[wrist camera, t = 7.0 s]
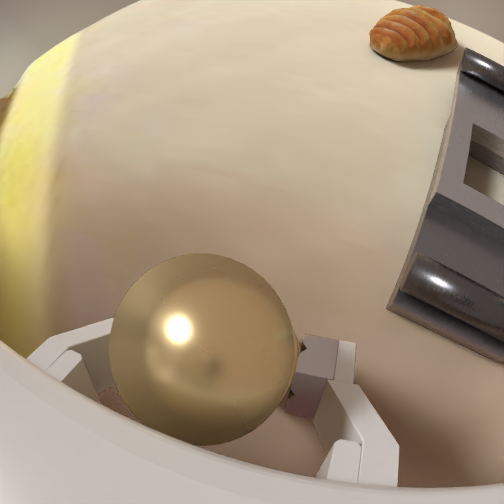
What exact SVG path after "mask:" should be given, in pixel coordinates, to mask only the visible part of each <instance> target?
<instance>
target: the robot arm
mask: <svg viewBox="0 0 504 504" xmlns="http://www.w3.org/2000/svg"><path fill="white" fill-rule="evenodd" d="M113 320H114V318H110V319H107V320H104V321H100V322H97V323H94V324H91V325H87V326H84V327H81V328H78V329H74V330H71V331H68V332H64V333H61V334H58V335H55V336H51V337H49V338H48V339H47V340H46V341H45V342H44V343H43V344H42V345H40V346H39V347H38V348H37V349H36V350H35V351H34V352H33V353H32V354H31V355H30V356H29V357H27V358H26V359H25V358H24V357H22V356H21V355H20V354H18V353H17V352H15V351H14V350H13V349H11V348H10V347H9V346H7V345H6V344H5V343H3V342H2V341H1V340H0V504H504V483H498V484H489V485H479V486H466V487H444V488H412V487H397V484H398V466H399V445H398V443H397V442H396V440H395V439H394V437H393V436H392V434H391V433H390V431H389V430H388V428H387V427H386V425H385V424H384V422H383V421H382V419H381V418H380V416H379V415H378V413H377V412H376V410H375V409H374V407H373V406H372V404H371V403H370V401H369V400H368V398H367V397H366V395H365V394H364V392H363V391H362V389H361V388H360V386H359V385H356V384H354V374H355V361H356V343H355V342H349V341H343V340H335V339H330V338H325V337H320V336H315V335H310V334H305V335H304V338H303V342H302V346H301V351H300V353H299V357H298V362H297V367H296V372H295V375H294V378H293V381H292V384H291V388H290V393H289V396H288V400H287V404H286V409H285V413H288V414H292V415H296V416H300V417H304V418H309V419H313V423H314V425H315V428H316V430H317V433H318V435H319V438H320V440H321V443H322V445H323V448H324V450H325V453H326V455H327V457H326V459H325V460H324V462H323V464H322V465H321V467H320V469H319V470H318V472H317V474H316V475H315V477H309V476H304V475H299V474H294V473H289V472H285V471H280V470H276V469H272V468H268V467H264V466H260V465H256V464H252V463H249V462H245V461H242V460H238V459H235V458H231V457H228V456H225V455H222V454H219V453H215V452H212V451H209V450H206V449H204V448H201V447H198V446H195V445H192V444H190V443H187V442H184V441H182V440H179V439H176V438H174V437H171V436H169V435H166V434H164V433H161V432H159V431H157V430H154V429H152V428H150V427H147V426H145V425H143V424H140V423H138V422H136V421H134V420H132V419H130V418H127V417H125V416H123V415H121V414H119V413H117V412H115V411H113V410H111V409H109V408H107V407H105V406H103V405H102V404H101V402H100V400H99V397H98V395H97V394H98V393H100V392H102V391H104V390H106V389H108V388H110V387H112V386H114V385H116V384H115V381H114V378H113V375H112V371H111V366H110V358H109V340H110V332H111V327H112V323H113Z"/></svg>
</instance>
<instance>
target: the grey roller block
mask: <svg viewBox="0 0 504 504" xmlns="http://www.w3.org/2000/svg"><path fill="white" fill-rule="evenodd" d="M468 155H470V156H472V157H474V158H475V159H477V160H479V161H481V162H483V163H485V164H486V165H488V166H490V167H492V168H494V169H495V170H497V171H499V172H500V173H502V174H504V66H502V65H500V64H498V63H496V62H495V61H493V60H491V59H489V58H487V57H485V56H483V55H481V54H479V53H477V52H475V51H472V50H470V49H468V48H466V49H465V51H464V55H463V58H462V60H461V62H460V65H459V68H458V71H457V77H456V84H455V90H454V97H453V103H452V108H451V114H450V117H449V120H448V122H447V124H446V127H445V129H444V134H443V138H442V142H441V147H440V151H439V155H438V159H437V163H436V167H435V170H434V174H433V178H432V181H431V185H430V188H429V192H428V195H427V199H426V202H425V205H424V208H423V212H422V215H421V218H420V221H419V224H418V227H417V230H416V233H415V236H414V239H413V241H412V244H411V247H410V250H409V253H408V255H407V258H406V261H405V263H404V266H403V269H402V271H401V274H400V276H399V279H398V281H397V284H396V286H395V289H394V291H393V293H392V296H391V298H390V301H389V303H388V305H387V308H386V309H388V310H390V311H392V312H394V313H397V314H399V315H401V316H403V317H405V318H407V319H409V320H411V321H413V322H415V323H417V324H419V325H421V326H423V327H426V328H428V329H430V330H432V331H434V332H436V333H438V334H440V335H442V336H444V337H446V338H448V339H450V340H452V341H454V342H456V343H459V344H461V345H463V346H465V347H467V348H469V349H471V350H473V351H475V352H477V353H479V354H481V355H483V356H485V357H487V358H489V359H491V360H493V361H495V362H504V206H503V205H502V204H500V203H498V202H496V201H495V200H493V199H491V198H489V197H488V196H486V195H484V194H482V193H481V192H479V191H477V190H475V189H473V188H471V187H469V186H468V185H466V184H464V183H463V182H464V176H465V171H466V166H467V160H468Z"/></svg>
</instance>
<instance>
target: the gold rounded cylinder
mask: <svg viewBox="0 0 504 504" xmlns="http://www.w3.org/2000/svg"><path fill="white" fill-rule="evenodd" d="M300 351H301V349H300V346H299V343H298V341H297V338H296V335H295V333H294V330H293V327H292V325H291V322H290V319H289V317H288V314H287V311H286V309H285V307H284V305H283V303H282V301H281V300H280V298H279V296H278V295H277V294H276V292H275V291H274V289H273V288H272V287H271V286H270V285H269V284H268V283H267V282H266V281H265V279H264V278H263V277H261V276H260V275H259V274H258V273H256V272H255V271H254V270H252V269H251V268H249V267H247V266H246V265H244V264H242V263H240V262H238V261H235V260H233V259H231V258H227V257H223V256H220V255H213V254H189V255H183V256H179V257H175V258H172V259H169V260H167V261H164V262H162V263H160V264H159V265H157V266H155V267H153V268H152V269H150V270H149V271H148V272H146V273H145V274H143V275H142V276H141V277H140V278H139V279H138V280H137V281H136V282H135V283H134V284H133V285H132V287H131V288H130V289H129V290H128V292H127V293H126V295H125V296H124V298H123V299H122V301H121V303H120V305H119V307H118V309H117V311H116V314H115V317H114V320H113V323H112V327H111V332H110V340H109V358H110V366H111V371H112V375H113V378H114V381H115V384H116V386H117V389H118V391H119V393H120V395H121V397H122V399H123V400H124V402H125V403H126V405H127V406H128V408H129V409H130V410H131V411H132V413H133V414H134V415H135V416H136V417H137V418H138V419H139V420H140V421H141V422H142V423H144V424H145V425H146V426H147V427H150V428H152V429H154V430H157V431H159V432H161V433H164V434H166V435H169V436H171V437H174V438H176V439H179V440H182V441H184V442H187V443H190V444H192V445H204V446H206V445H216V444H221V443H226V442H230V441H232V440H235V439H237V438H240V437H242V436H244V435H246V434H248V433H249V432H251V431H253V430H254V429H256V428H257V427H258V426H259V425H261V424H262V423H263V422H264V421H265V420H266V419H267V418H268V417H269V416H270V415H271V414H272V413H273V412H274V410H275V409H276V407H277V406H278V404H279V403H280V402H281V400H282V399H283V397H284V395H285V394H286V392H287V391H288V389H289V388H290V386H291V384H292V381H293V378H294V375H295V372H296V367H297V362H298V357H299V353H300Z"/></svg>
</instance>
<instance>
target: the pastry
mask: <svg viewBox="0 0 504 504" xmlns="http://www.w3.org/2000/svg"><path fill="white" fill-rule="evenodd" d="M456 47H457V40H456V38H455V33H454V31H453V29H452V27H451V22H450V21H449V19H448V18H447V17H446V16H445V15H444V14H443V13H441V12H439V11H438V10H437V9H435V8H431V7H424V6H423V5H418V6H413V7H411V8H401V9H396V10H393V11H392V12H390V13H389V14H387V15H386V16H384V17H383V18H381V19H380V21H379V22H377V24H376V26H375V27H374V28H373V29H372V30H371V31H370V48H371V49H373V50H375V51H376V52H378V53H379V54H381V55H383V56H386V57H388V58H390V59H392V60H395V61H400V62H403V61H407V60H412V61H417V60H420V61H429V60H430V59H433V58H436V57H440V56H443V55H446V54H448V53H449V52H451V51H453V50H454V49H455V48H456Z"/></svg>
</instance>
